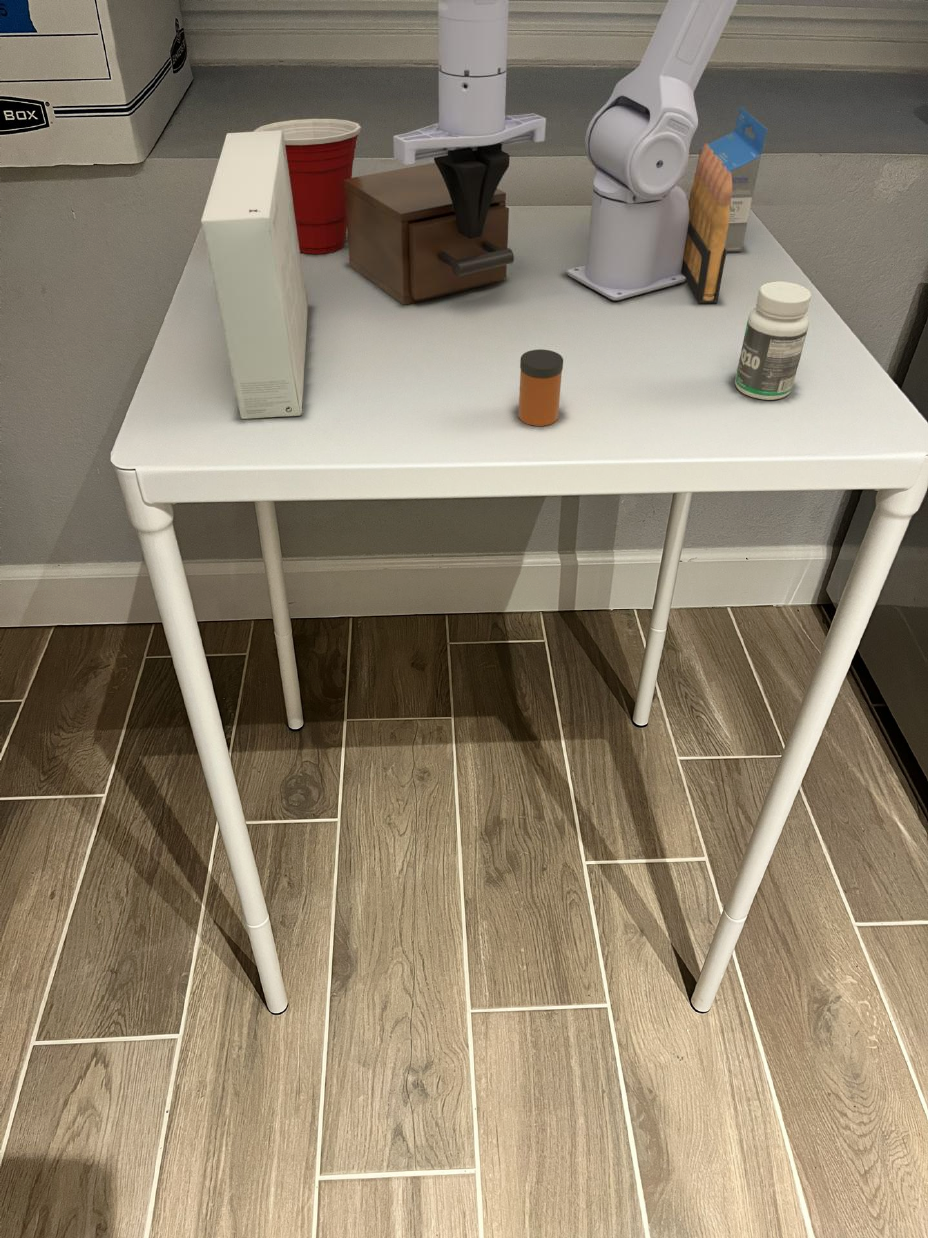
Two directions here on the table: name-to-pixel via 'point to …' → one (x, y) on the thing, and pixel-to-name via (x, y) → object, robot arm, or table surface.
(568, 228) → the table surface
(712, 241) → the ammunition clip
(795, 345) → the pill bottle
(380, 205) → the cabinet
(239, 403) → the skincare box
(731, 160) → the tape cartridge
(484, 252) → the drawer
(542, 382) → the bottle
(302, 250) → the plastic cup
